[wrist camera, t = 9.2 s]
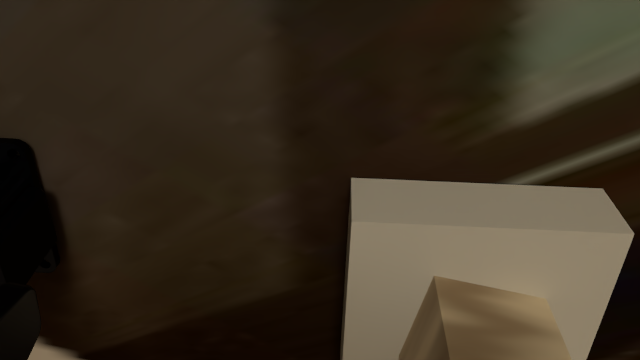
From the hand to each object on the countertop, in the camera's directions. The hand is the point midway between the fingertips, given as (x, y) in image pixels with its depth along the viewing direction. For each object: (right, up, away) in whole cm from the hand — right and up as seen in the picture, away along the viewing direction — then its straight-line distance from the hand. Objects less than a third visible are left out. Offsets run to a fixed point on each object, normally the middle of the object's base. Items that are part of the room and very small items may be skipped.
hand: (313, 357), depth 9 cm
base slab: (+6, -2, +17) cm, 18 cm away
